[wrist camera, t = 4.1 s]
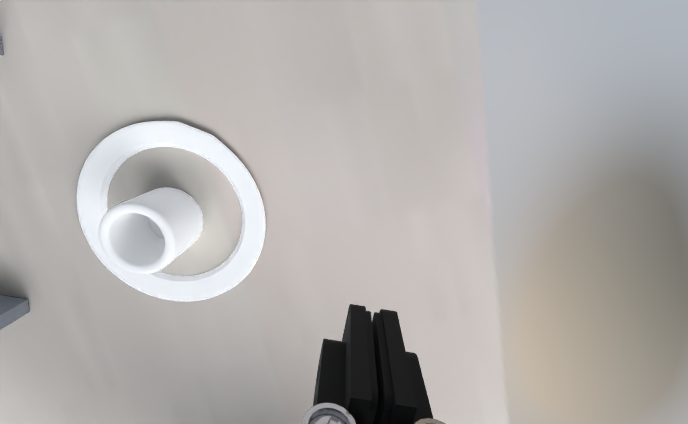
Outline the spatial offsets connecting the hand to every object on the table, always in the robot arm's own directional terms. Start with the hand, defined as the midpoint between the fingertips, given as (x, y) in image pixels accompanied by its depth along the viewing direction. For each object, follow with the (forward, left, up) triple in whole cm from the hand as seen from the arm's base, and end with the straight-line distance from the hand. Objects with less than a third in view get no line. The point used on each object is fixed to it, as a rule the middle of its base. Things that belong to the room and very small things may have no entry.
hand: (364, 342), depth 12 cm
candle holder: (+12, +1, -11) cm, 16 cm away
